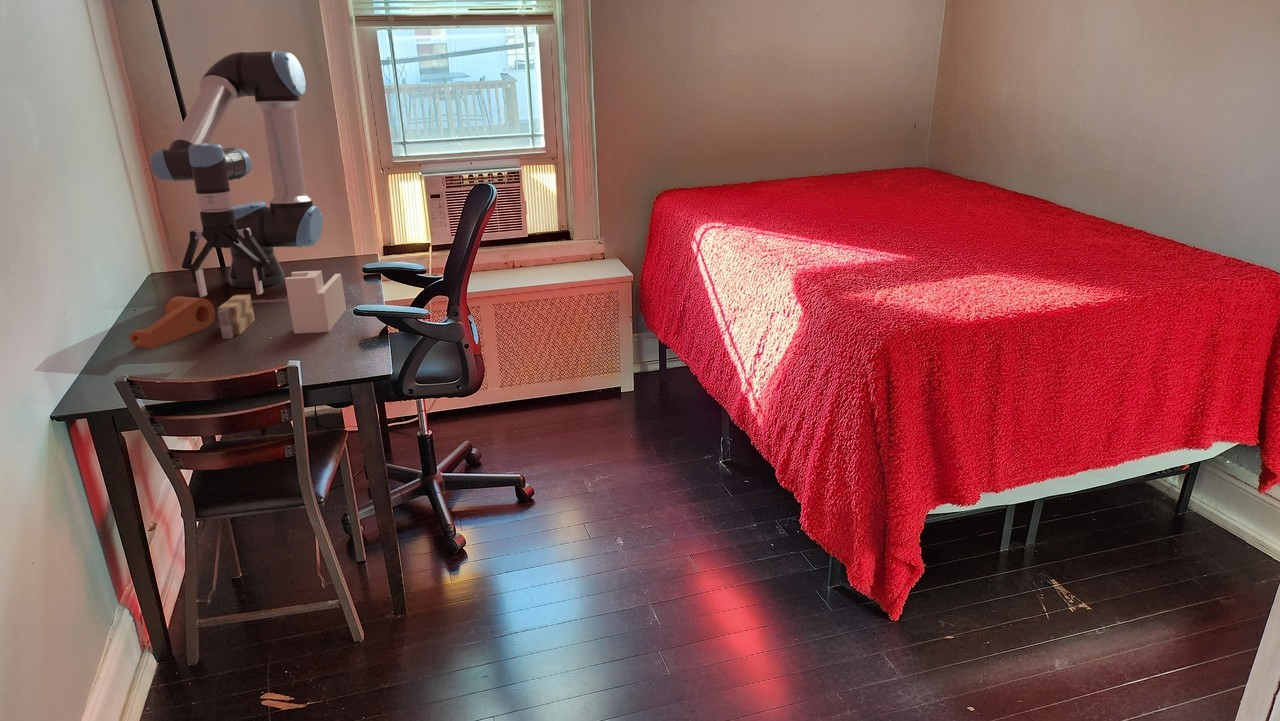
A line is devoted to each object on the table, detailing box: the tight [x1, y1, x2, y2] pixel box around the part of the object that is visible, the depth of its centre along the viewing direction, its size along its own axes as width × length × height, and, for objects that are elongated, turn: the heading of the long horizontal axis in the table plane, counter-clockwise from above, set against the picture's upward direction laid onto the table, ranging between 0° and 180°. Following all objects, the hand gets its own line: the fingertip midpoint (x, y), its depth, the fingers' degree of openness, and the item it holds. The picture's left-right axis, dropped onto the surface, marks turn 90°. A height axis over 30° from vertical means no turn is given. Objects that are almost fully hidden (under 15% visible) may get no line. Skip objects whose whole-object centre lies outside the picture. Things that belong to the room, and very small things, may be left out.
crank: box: [128, 295, 216, 349], centre depth 208 cm, size 20×8×8 cm, turn 161°
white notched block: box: [284, 270, 347, 335], centre depth 215 cm, size 8×20×14 cm, turn 6°
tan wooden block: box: [217, 293, 256, 340], centre depth 211 cm, size 15×4×7 cm, turn 6°
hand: (232, 294), depth 210 cm, fingers open, 13 cm apart
